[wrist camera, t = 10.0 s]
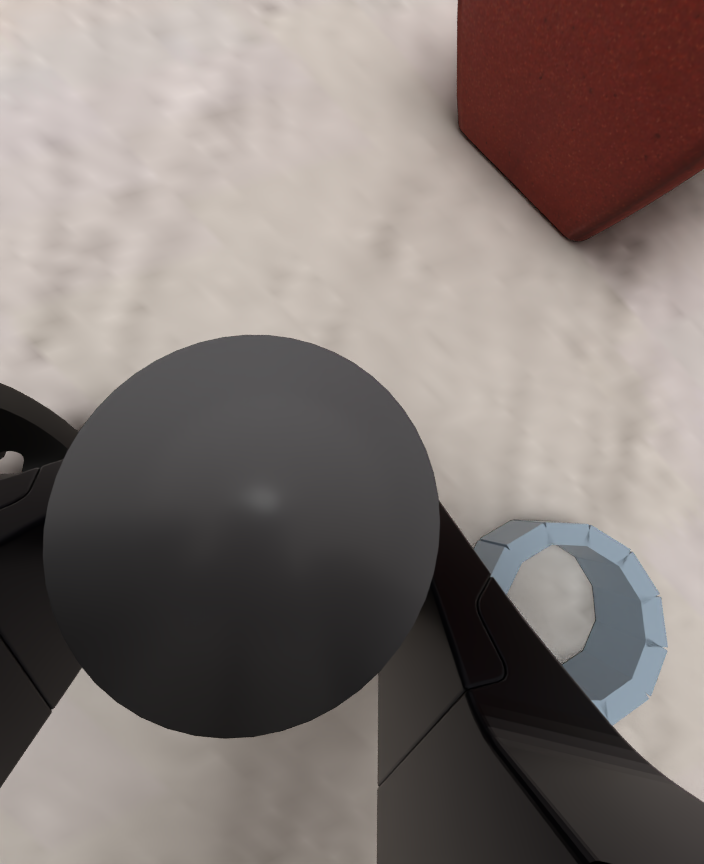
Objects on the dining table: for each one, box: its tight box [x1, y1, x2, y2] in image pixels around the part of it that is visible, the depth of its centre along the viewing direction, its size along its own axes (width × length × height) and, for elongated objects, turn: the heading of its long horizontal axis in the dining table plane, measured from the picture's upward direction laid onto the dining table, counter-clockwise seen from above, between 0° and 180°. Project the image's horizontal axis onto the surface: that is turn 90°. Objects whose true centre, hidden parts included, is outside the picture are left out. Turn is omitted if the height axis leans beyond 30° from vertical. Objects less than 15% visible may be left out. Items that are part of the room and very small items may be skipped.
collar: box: [474, 520, 668, 726], centre depth 17 cm, size 8×8×3 cm
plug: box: [43, 335, 440, 738], centre depth 9 cm, size 4×4×11 cm
